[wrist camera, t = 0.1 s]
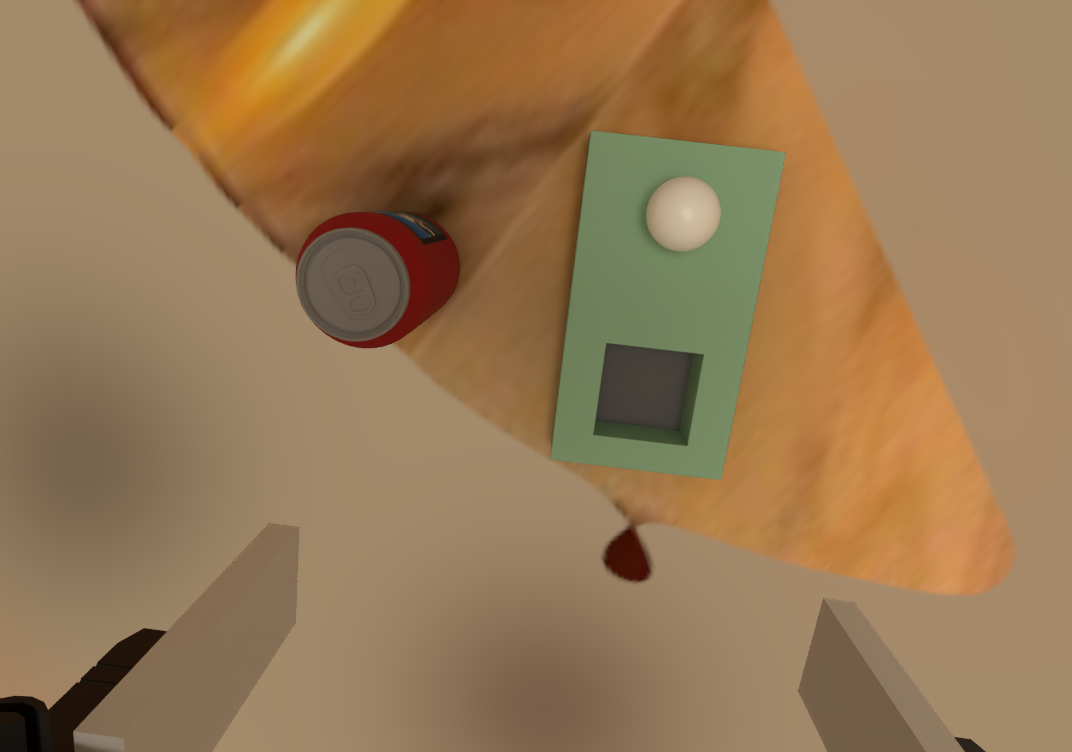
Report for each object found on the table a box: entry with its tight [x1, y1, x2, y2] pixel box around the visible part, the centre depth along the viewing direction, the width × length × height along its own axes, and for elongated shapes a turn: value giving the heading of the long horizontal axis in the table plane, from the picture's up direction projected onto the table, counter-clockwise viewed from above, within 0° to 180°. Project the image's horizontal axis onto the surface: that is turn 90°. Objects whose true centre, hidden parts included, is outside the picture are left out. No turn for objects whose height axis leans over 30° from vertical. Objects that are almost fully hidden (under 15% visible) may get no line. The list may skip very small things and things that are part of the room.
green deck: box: [550, 130, 786, 480], centre depth 40 cm, size 20×11×3 cm, turn 174°
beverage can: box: [296, 211, 459, 348], centre depth 36 cm, size 7×7×12 cm
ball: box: [646, 176, 721, 252], centre depth 35 cm, size 4×4×4 cm
